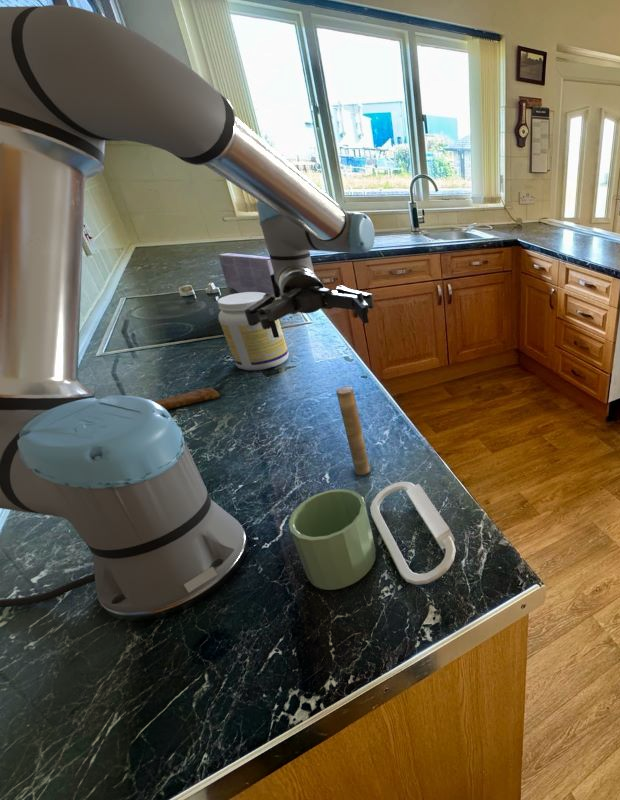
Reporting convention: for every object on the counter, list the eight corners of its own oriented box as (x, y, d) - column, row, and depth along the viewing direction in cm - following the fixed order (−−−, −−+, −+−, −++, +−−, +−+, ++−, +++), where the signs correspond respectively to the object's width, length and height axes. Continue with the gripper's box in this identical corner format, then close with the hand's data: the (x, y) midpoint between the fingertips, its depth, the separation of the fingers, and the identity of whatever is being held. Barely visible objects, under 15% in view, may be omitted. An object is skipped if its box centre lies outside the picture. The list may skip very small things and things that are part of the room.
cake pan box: (291, 308, 148) (277, 255, 139) (281, 312, 144) (266, 259, 135) (243, 304, 151) (226, 252, 142) (232, 308, 146) (214, 255, 138)
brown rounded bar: (212, 389, 97) (206, 375, 95) (222, 396, 94) (216, 382, 92) (101, 425, 84) (92, 410, 82) (109, 435, 81) (100, 419, 79)
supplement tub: (298, 352, 116) (281, 291, 107) (275, 372, 105) (255, 305, 97) (252, 352, 115) (231, 290, 107) (225, 371, 105) (200, 305, 96)
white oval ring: (369, 508, 68) (359, 493, 65) (415, 481, 71) (407, 465, 68) (416, 604, 54) (405, 588, 51) (471, 564, 57) (463, 548, 54)
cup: (312, 601, 52) (293, 551, 48) (302, 553, 58) (285, 504, 54) (383, 570, 56) (372, 521, 52) (366, 528, 62) (355, 481, 58)
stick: (357, 477, 72) (337, 395, 64) (353, 469, 74) (334, 388, 66) (371, 472, 73) (354, 391, 65) (368, 464, 75) (350, 384, 67)
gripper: (370, 299, 92) (401, 330, 77) (234, 318, 80) (238, 359, 65) (364, 264, 88) (395, 289, 73) (220, 278, 76) (222, 311, 61)
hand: (321, 322), depth 69 cm, fingers open, 13 cm apart
